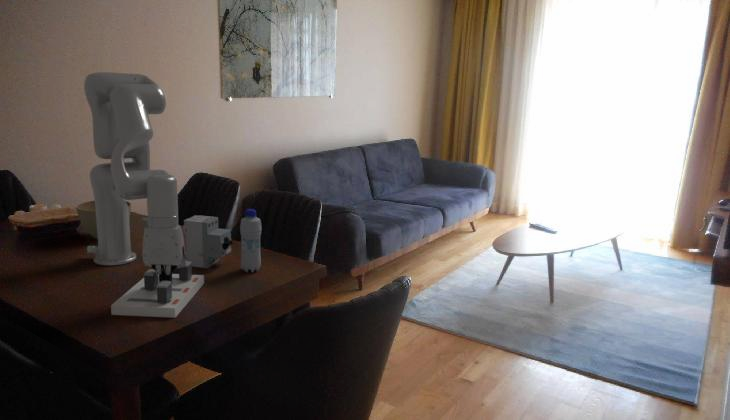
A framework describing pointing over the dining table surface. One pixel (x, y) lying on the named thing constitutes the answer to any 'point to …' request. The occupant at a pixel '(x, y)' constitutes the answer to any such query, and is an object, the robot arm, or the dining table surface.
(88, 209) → the olive rounded bowl
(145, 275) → the block
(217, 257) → the circuit breaker
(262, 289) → the dining table surface
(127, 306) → the breaker panel
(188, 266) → the block
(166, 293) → the block
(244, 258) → the bottle
